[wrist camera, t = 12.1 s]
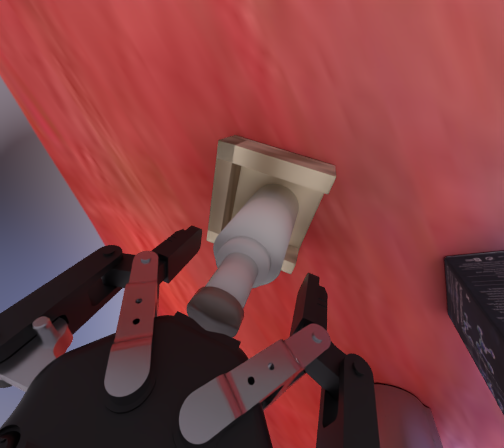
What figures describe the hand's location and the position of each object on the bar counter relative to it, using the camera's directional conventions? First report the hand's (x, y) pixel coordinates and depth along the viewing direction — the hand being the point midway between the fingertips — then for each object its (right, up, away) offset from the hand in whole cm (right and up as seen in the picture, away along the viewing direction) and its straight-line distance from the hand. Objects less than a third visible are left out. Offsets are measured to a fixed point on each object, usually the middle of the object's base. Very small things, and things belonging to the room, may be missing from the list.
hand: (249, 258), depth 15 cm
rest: (+2, +5, +8) cm, 10 cm away
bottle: (+3, +4, +7) cm, 9 cm away
